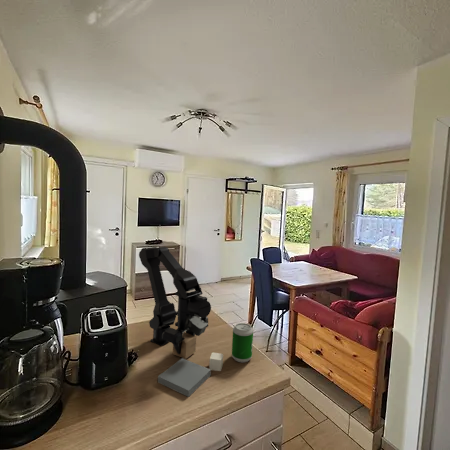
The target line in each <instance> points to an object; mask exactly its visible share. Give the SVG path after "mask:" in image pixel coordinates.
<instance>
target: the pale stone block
mask: <svg viewBox="0 0 450 450" xmlns="http://www.w3.org/2000/svg"><path fill="white" fill-rule="evenodd" d="M208 364H209V368H208V369H211V371H215V372H221V371H222V368H223V365H224V354H223V353H220V352H219V353H218V352H211V355H210V357H209V363H208Z"/></svg>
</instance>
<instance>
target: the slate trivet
mask: <svg viewBox="0 0 450 450" xmlns="http://www.w3.org/2000/svg"><path fill="white" fill-rule="evenodd" d="M211 376H212V370H211V369H209V368H207V367H205V366H204V365H200V364H198V363H196V362H193V361H190V360H187V359H184V358H182V357H181V358H180V359H179V360H177V361H176V362H175V363H174V364H172V365H171V366H169V367H168V368H167V369H166V370H165V371H163V372H162V373H160V374H159V375H158V376H157V383H158V384H161V385H163V386H164V387H166V388H169V389H171V390H172V391H175V392H177V393H179V394H181V395H184V396H185V397H188V398H190V397H191V396H192V395H193V393H194V392H195V391H196V390H198V389H199V388H200V387H201V386H202V384H204V383H205V382H206V381H207V380H208V379H209V378H210V377H211Z"/></svg>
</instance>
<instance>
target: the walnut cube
mask: <svg viewBox="0 0 450 450" xmlns="http://www.w3.org/2000/svg"><path fill="white" fill-rule="evenodd" d="M182 337H183V338H185V339H184V340H183V341H182V346H181V353H180V354H178V353H177V351H176V349H175V347H174V345H173V344H172V355H174V356H177V357H180V358H181V359H182V358H183V359H186V360H187V359H188V358H190V356H192V355H193V354H194V353H195V352H196V351H197V348H196V347H197V346H196V345H197V335H195V336H194V335H191V334H188V333H186V331H185V332H184V333H183V335H182Z"/></svg>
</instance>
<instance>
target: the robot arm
mask: <svg viewBox="0 0 450 450" xmlns="http://www.w3.org/2000/svg"><path fill="white" fill-rule="evenodd" d="M138 257H139V259H140V262H141V265H142V266H143V267H144V268H145V269H146V270H147V274H148V278H149V283H150V288H151V291H152V295H153V299H154V303H155V304H154V308H153V311H152V314H153V317H152V318H151V319H150V320H149V322H148V324H149V327H150V328H151V329H153V331H152V332H153V335H152V338H151V339H150V342H151V343H154V344H157V345H159V346H164V345H166V344H168V343H171V344H172V346H173V345H174V347H175V349H176V351H177V353H178V354H180V353H181V346H182V341H183V340H184V339H185V338H183V337H182V335H183V333H184V332H185V333H188V334H191V335H194V336H196V337H200V336H202V334H204V333H205V332H206V329H207V328H208V327H209V315H210V313H211V311H212V305H211V303H210V301H208V297H206V296H202V295H203V291H202V288H201V286H200V284H199V281H198V278H197V276H195V274H194V273H192V272H191V271H190V270H186V269H185V268H184V267H182V265H181V264H180V263H179V261H178V260H177V259H176V258H175V256H174V255H173V254H172V253H171V251H170V250H169V248H168V247H167V246H158V247H157V246H153V247H151V246H150V247H143V248H141V249H140V251H139V253H138ZM161 264H162V265H163V266H164V268H165V269H166V270H167V271H168V273H169V274H170V276H172V279H173V280H172V283H173V285H174V288H175V289H176V290H177V291H176V292H174V295H175V296H176V297H178V298H177V299H178V300H177V302H178V303H177V310H176V307H175V304H174V303H173V302H170V301H169V300H168V297H167V292H166V288H165V285H164V279H163V276H162V272H161V269H160V268H161V267H160V265H161ZM176 318H177V321H176ZM172 325H174V326H175V327H177V328H174V327H171V326H172Z"/></svg>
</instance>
